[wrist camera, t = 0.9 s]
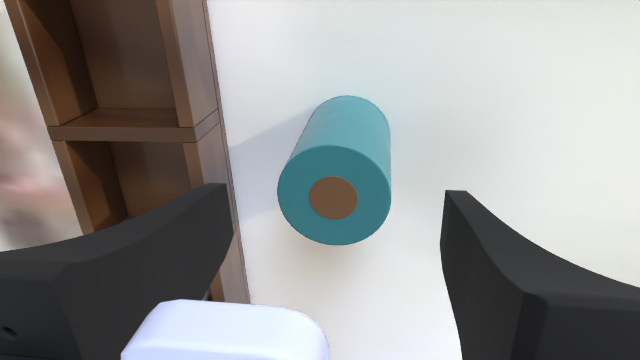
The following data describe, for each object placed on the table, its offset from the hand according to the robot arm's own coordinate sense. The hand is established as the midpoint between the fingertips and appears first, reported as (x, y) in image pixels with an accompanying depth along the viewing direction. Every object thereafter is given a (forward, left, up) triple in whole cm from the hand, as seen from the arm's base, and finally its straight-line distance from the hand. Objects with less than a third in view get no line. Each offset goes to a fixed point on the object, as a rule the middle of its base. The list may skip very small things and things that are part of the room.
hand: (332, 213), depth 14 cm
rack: (-2, +10, -8) cm, 13 cm away
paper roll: (0, 0, -8) cm, 8 cm away
